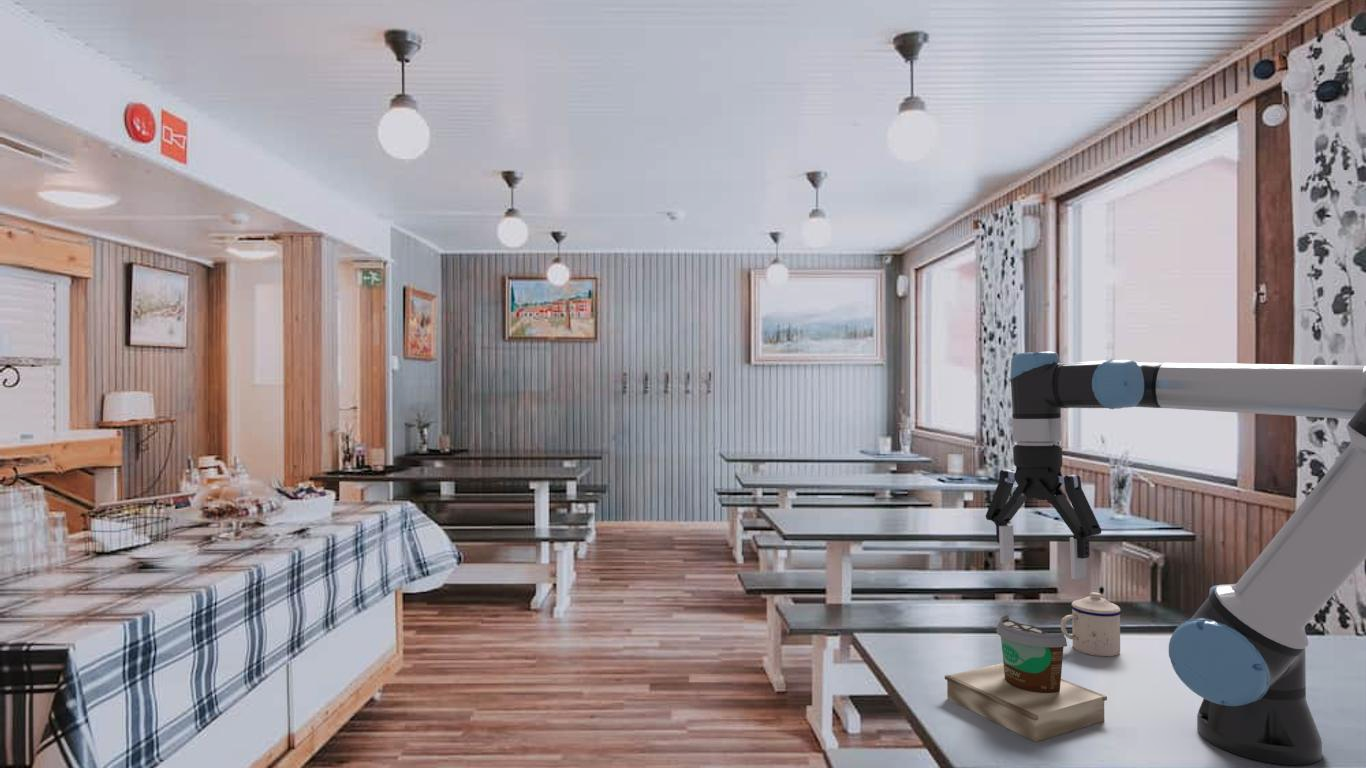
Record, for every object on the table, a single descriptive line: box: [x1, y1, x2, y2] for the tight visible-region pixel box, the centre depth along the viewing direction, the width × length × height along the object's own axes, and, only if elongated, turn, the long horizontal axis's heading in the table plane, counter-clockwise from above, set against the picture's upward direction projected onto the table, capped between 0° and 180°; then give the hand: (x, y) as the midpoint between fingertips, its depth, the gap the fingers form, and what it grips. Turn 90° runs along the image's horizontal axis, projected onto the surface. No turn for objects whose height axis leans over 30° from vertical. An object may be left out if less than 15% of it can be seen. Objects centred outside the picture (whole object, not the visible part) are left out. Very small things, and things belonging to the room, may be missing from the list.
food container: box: [995, 614, 1068, 693], centre depth 127 cm, size 12×6×10 cm, turn 25°
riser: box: [944, 662, 1108, 743], centre depth 127 cm, size 18×17×4 cm
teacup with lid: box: [1060, 591, 1122, 657], centre depth 155 cm, size 12×9×12 cm
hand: (1041, 570), depth 127 cm, fingers open, 13 cm apart
